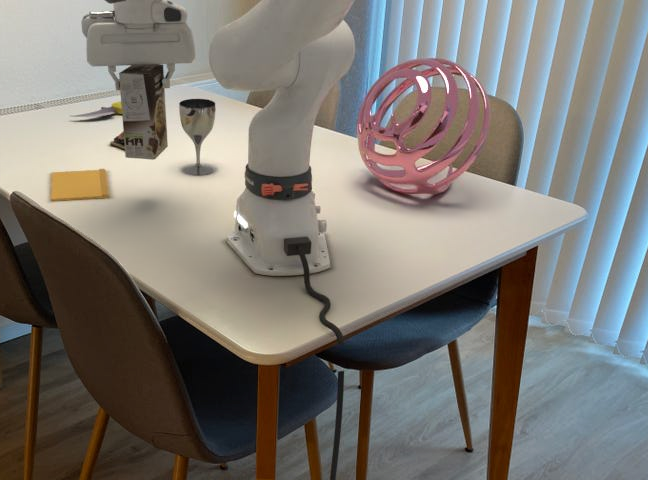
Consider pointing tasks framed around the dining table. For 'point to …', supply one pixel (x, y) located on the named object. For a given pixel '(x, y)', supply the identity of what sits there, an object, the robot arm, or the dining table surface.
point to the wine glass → (197, 128)
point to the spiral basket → (397, 132)
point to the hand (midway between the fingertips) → (143, 88)
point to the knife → (104, 111)
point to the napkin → (79, 185)
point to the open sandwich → (119, 141)
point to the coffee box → (143, 111)
